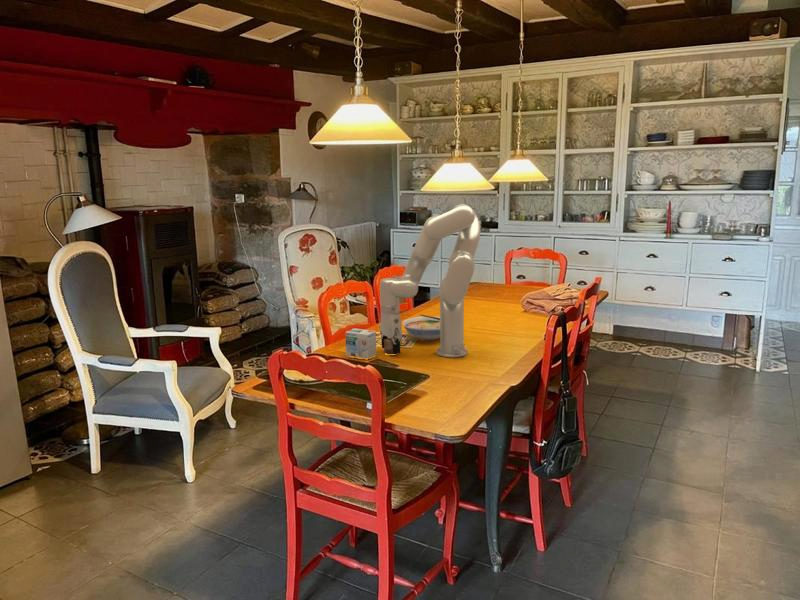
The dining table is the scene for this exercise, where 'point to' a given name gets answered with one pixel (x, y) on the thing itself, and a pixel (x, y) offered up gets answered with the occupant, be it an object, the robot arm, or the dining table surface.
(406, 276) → the robot arm
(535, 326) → the dining table surface
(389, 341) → the walnut cylinder
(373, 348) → the light bulb box
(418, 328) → the ramen bowl
